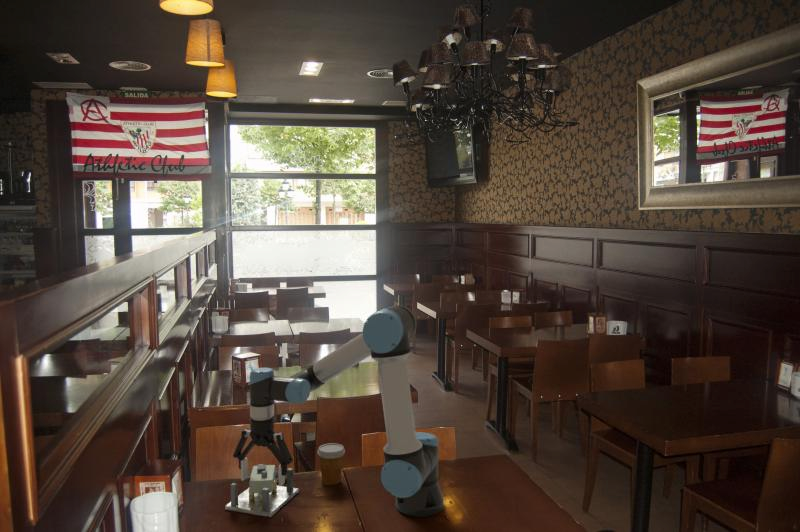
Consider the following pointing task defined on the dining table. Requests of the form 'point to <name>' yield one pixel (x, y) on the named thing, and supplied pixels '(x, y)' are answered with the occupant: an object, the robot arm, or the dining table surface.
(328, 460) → the disposable coffee cup
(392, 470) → the robot arm
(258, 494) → the chassis
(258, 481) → the board
